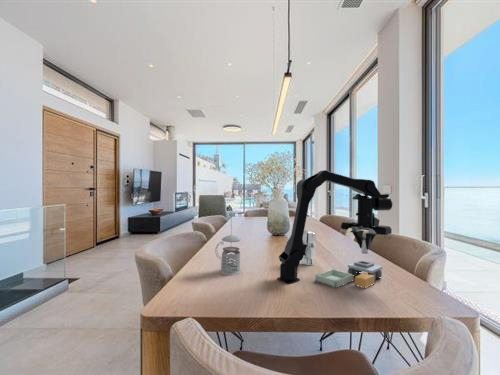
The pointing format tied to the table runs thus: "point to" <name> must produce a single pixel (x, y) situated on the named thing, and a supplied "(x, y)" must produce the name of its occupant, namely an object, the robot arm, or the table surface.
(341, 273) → the tray
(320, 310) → the table surface
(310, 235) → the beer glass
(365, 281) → the orange rectangular block
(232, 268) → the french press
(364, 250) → the pin
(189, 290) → the table surface
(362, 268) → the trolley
